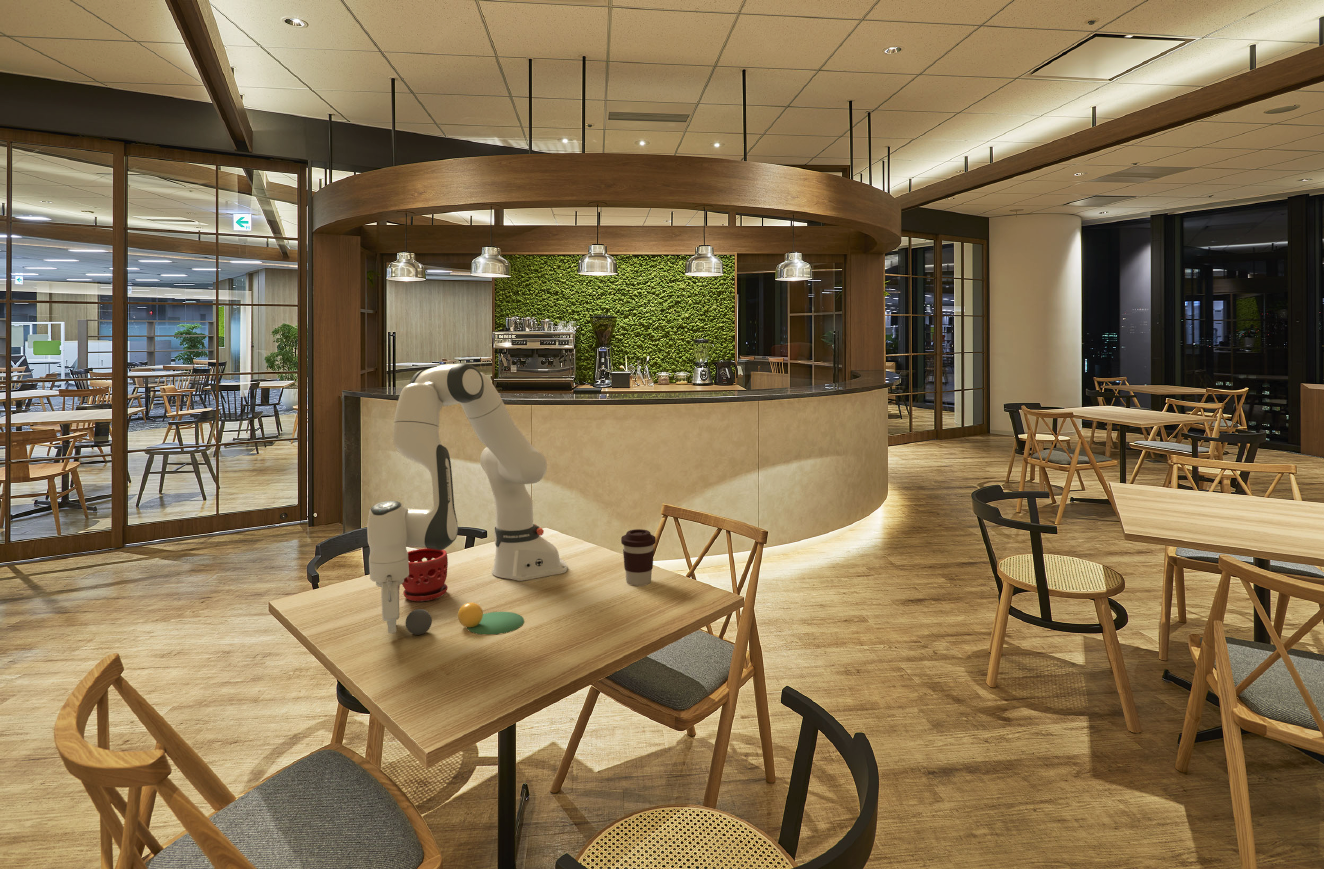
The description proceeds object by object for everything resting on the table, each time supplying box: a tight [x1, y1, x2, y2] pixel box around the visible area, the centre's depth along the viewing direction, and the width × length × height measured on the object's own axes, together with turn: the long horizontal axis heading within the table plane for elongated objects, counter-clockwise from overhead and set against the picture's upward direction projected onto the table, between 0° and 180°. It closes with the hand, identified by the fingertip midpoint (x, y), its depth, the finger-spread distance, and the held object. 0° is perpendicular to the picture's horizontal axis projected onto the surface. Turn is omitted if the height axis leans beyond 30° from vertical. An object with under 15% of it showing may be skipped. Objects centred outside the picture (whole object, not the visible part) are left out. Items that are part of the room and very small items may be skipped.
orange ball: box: [457, 601, 484, 628], centre depth 175 cm, size 6×6×6 cm
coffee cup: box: [620, 528, 657, 587], centre depth 206 cm, size 10×10×15 cm
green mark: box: [466, 611, 525, 635], centre depth 177 cm, size 14×14×1 cm
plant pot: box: [401, 548, 449, 602], centre depth 195 cm, size 13×13×12 cm
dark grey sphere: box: [404, 608, 433, 636], centre depth 170 cm, size 6×6×6 cm
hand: (392, 624), depth 172 cm, fingers open, 8 cm apart
